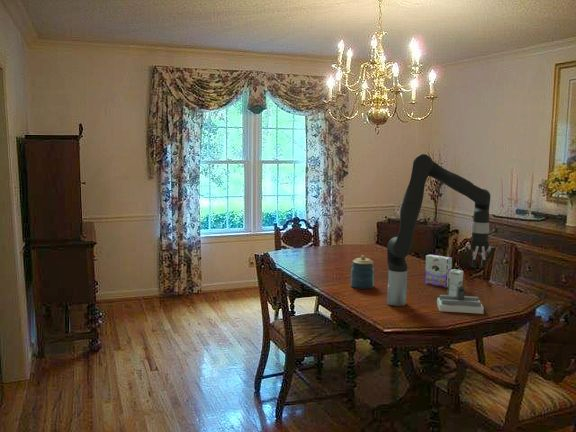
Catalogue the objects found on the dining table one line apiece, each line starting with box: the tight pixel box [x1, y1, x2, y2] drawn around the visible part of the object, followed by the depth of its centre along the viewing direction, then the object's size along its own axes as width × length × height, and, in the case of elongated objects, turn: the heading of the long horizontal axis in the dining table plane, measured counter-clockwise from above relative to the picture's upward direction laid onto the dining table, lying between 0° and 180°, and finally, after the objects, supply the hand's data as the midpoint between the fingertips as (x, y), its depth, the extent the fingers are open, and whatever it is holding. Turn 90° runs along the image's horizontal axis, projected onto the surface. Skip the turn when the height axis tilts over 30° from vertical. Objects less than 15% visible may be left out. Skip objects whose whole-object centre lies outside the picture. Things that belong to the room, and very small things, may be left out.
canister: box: [350, 254, 375, 290], centre depth 292 cm, size 13×13×18 cm
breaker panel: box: [436, 294, 485, 315], centre depth 255 cm, size 20×12×5 cm, turn 80°
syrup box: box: [446, 268, 464, 296], centre depth 272 cm, size 6×6×14 cm
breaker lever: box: [456, 284, 466, 300], centre depth 254 cm, size 3×5×8 cm, turn 170°
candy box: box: [423, 253, 453, 288], centre depth 297 cm, size 14×6×16 cm, turn 47°
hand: (478, 266), depth 251 cm, fingers open, 3 cm apart
